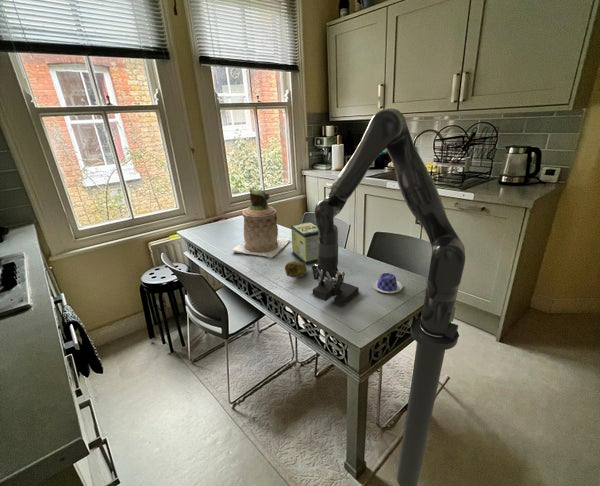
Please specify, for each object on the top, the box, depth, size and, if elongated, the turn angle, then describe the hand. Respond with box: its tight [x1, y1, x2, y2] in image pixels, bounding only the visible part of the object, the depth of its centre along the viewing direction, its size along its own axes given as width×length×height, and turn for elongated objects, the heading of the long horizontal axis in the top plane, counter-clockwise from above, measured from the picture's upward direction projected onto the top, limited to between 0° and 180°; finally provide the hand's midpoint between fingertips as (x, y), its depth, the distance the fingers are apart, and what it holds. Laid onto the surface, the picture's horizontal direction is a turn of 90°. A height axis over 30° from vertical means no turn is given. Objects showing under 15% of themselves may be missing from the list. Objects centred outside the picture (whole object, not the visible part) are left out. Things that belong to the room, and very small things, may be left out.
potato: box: [284, 260, 308, 278], centre depth 140 cm, size 8×13×8 cm, turn 131°
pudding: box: [371, 272, 403, 294], centre depth 129 cm, size 12×12×5 cm
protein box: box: [290, 221, 318, 265], centre depth 157 cm, size 10×16×16 cm
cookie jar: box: [231, 189, 290, 259], centre depth 166 cm, size 25×25×32 cm
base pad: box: [312, 278, 360, 307], centre depth 127 cm, size 14×12×2 cm
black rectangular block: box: [314, 281, 340, 302], centre depth 121 cm, size 5×10×3 cm, turn 140°
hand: (327, 292), depth 122 cm, fingers closed on black rectangular block, 5 cm apart
